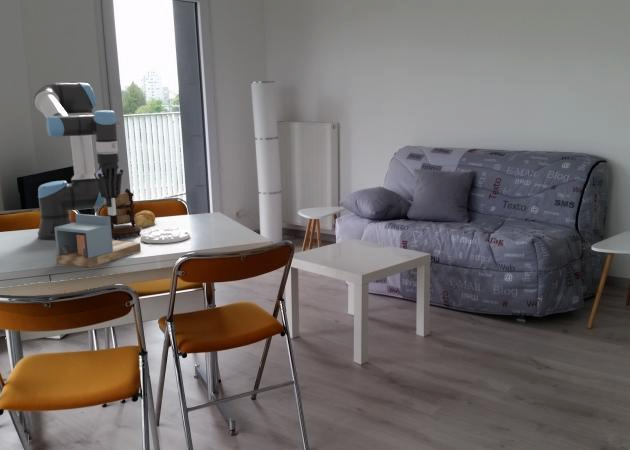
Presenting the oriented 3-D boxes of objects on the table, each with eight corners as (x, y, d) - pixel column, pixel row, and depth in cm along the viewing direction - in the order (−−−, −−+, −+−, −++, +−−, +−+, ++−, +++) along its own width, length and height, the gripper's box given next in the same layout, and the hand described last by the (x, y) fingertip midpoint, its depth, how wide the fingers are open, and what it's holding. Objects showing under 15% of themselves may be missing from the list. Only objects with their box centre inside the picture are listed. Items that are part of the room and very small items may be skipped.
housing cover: (57, 254, 226) (53, 219, 224) (80, 247, 236) (77, 213, 234) (90, 258, 220) (87, 222, 217) (112, 251, 229) (110, 216, 227)
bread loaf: (145, 236, 284) (152, 221, 283) (124, 227, 283) (132, 211, 281) (156, 226, 305) (162, 211, 303) (136, 217, 304) (143, 202, 302)
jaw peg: (87, 259, 232) (85, 232, 230) (95, 260, 230) (92, 233, 228) (78, 261, 228) (76, 234, 226) (86, 262, 226) (84, 235, 224)
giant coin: (178, 245, 252) (177, 238, 251) (132, 244, 256) (132, 237, 255) (196, 235, 271) (196, 228, 271) (154, 233, 275) (153, 226, 274)
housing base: (56, 262, 227) (55, 246, 226) (109, 247, 250) (108, 232, 248) (90, 267, 220) (88, 250, 219) (140, 250, 243) (139, 235, 242)
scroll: (132, 230, 281) (128, 185, 277) (147, 235, 270) (144, 189, 266) (99, 235, 271) (95, 189, 267) (114, 241, 260) (110, 193, 256)
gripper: (102, 155, 227) (107, 219, 232) (127, 151, 238) (131, 212, 244) (86, 154, 230) (92, 217, 235) (112, 150, 241) (116, 210, 247)
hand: (112, 214), depth 239 cm, fingers closed
